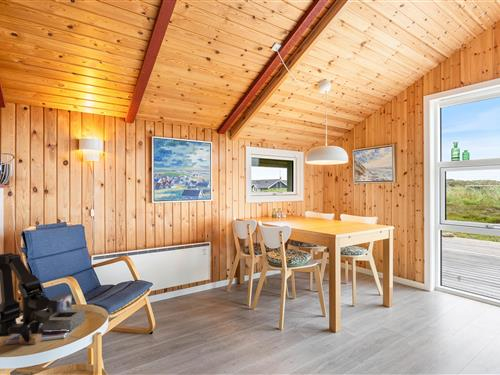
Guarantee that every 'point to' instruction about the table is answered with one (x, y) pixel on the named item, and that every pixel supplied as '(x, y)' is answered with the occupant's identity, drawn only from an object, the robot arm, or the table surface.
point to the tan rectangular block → (32, 339)
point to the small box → (61, 302)
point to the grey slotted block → (65, 320)
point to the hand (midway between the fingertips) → (30, 339)
